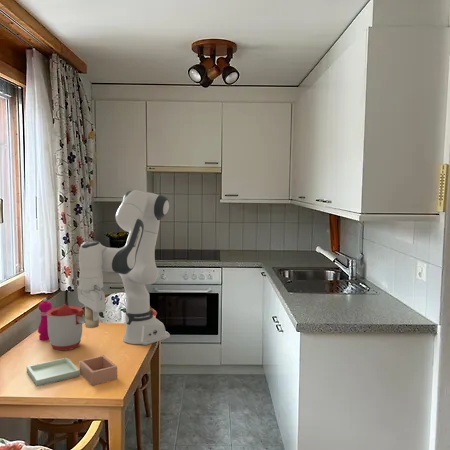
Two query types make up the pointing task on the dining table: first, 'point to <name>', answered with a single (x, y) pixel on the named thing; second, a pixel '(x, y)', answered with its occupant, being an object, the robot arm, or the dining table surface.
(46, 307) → the pepper mill
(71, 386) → the dining table surface
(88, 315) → the beech cylinder
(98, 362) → the open square frame
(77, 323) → the citrus juicer
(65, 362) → the tray
